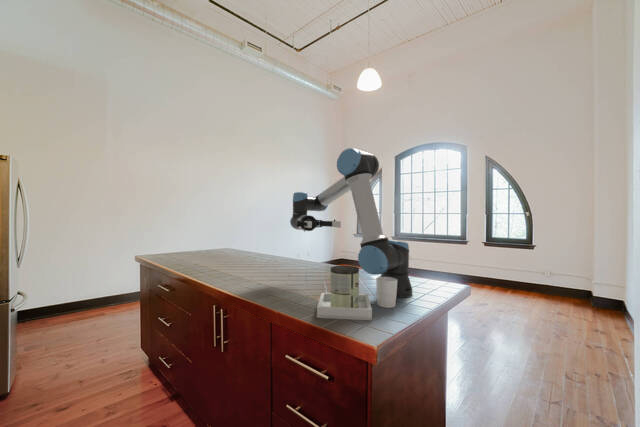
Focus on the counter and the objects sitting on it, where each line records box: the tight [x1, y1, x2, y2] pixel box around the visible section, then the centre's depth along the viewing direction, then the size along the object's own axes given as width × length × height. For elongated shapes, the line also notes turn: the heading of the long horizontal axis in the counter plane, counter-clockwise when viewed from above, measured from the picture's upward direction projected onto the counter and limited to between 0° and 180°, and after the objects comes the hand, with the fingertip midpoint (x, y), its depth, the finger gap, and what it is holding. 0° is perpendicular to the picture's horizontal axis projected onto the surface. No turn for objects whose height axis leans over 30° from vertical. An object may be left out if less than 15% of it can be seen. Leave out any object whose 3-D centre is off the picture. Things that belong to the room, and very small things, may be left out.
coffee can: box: [330, 265, 360, 308], centre depth 104 cm, size 10×10×14 cm
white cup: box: [375, 276, 397, 309], centre depth 110 cm, size 8×8×10 cm
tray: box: [316, 292, 373, 321], centre depth 104 cm, size 18×18×4 cm
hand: (325, 224), depth 122 cm, fingers open, 13 cm apart
